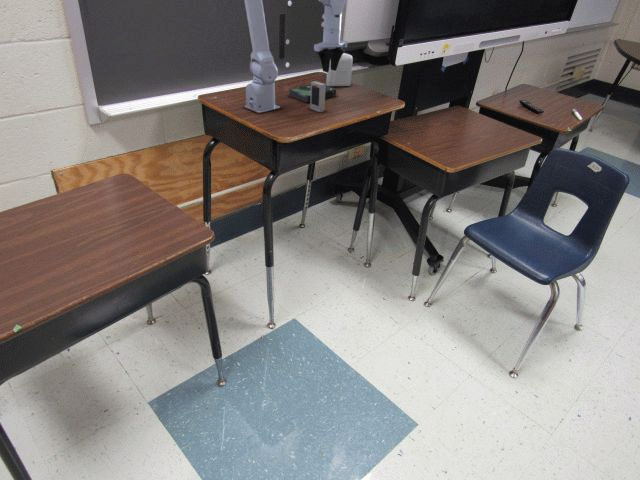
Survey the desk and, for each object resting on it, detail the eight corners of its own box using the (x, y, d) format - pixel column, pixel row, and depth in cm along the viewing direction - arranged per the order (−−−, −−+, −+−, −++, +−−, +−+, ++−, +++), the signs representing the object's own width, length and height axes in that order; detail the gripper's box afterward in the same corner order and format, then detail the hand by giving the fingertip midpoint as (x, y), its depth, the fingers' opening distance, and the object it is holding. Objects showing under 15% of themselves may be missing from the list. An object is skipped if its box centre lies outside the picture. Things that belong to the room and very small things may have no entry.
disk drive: (316, 90, 176) (288, 96, 167) (317, 82, 174) (288, 88, 165) (336, 96, 170) (307, 103, 161) (336, 89, 168) (308, 95, 159)
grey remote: (319, 112, 153) (320, 85, 148) (309, 108, 156) (310, 82, 151) (324, 111, 154) (325, 84, 149) (314, 107, 157) (315, 81, 152)
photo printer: (348, 83, 186) (350, 51, 179) (352, 86, 182) (354, 54, 176) (324, 84, 183) (326, 52, 176) (328, 87, 179) (330, 54, 172)
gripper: (325, 32, 145) (323, 76, 152) (355, 28, 154) (351, 70, 161) (310, 29, 149) (308, 71, 156) (340, 25, 158) (337, 66, 165)
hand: (329, 70), depth 159 cm, fingers open, 3 cm apart
